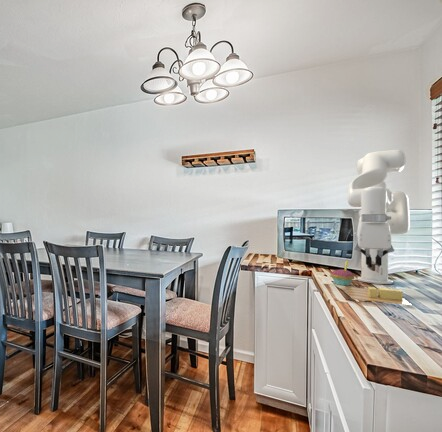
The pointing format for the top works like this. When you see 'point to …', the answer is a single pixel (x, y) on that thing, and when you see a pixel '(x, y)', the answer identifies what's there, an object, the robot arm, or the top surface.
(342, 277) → the birthday cake
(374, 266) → the knife
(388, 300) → the board
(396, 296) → the butter
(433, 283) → the top surface
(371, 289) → the butter pat
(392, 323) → the top surface
